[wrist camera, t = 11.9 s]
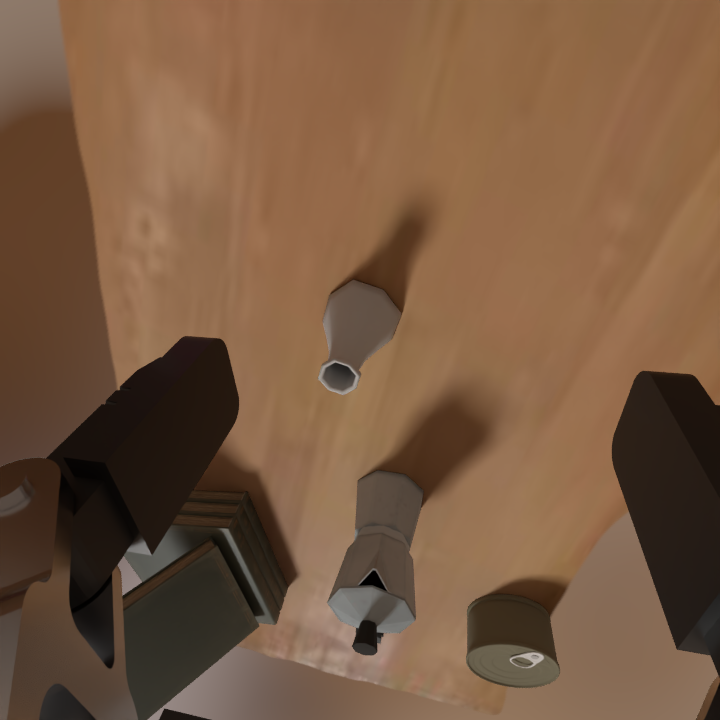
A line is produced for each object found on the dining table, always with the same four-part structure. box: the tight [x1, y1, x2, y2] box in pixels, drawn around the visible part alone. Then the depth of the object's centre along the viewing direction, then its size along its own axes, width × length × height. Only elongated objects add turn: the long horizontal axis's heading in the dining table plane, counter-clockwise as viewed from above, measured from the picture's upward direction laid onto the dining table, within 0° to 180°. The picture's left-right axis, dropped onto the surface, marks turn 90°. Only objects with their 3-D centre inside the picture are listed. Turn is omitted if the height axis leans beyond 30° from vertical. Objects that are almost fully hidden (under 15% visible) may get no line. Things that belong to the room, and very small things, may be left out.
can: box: [466, 594, 560, 688], centre depth 64 cm, size 12×12×7 cm
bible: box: [122, 490, 288, 720], centre depth 59 cm, size 23×20×25 cm
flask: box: [318, 280, 401, 395], centre depth 39 cm, size 7×7×10 cm
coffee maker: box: [327, 470, 424, 655], centre depth 49 cm, size 15×9×18 cm, turn 179°
